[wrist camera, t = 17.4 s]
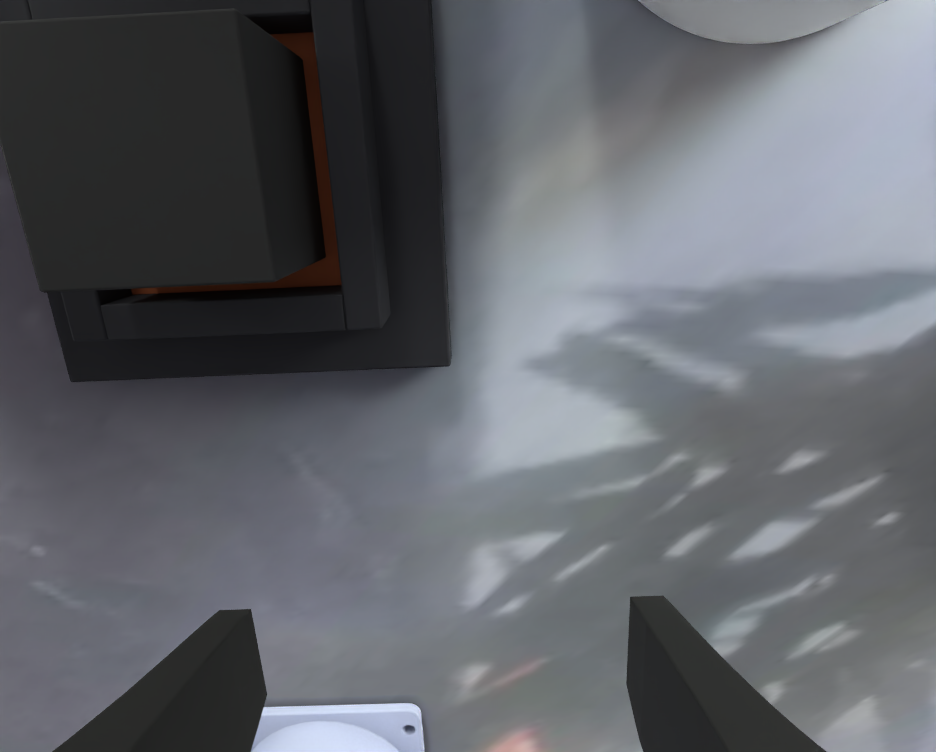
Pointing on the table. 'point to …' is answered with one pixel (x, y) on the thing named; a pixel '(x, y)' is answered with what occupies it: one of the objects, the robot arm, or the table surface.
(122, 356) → the base pad
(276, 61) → the black block
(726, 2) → the tall pillar cylinder
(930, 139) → the table surface
